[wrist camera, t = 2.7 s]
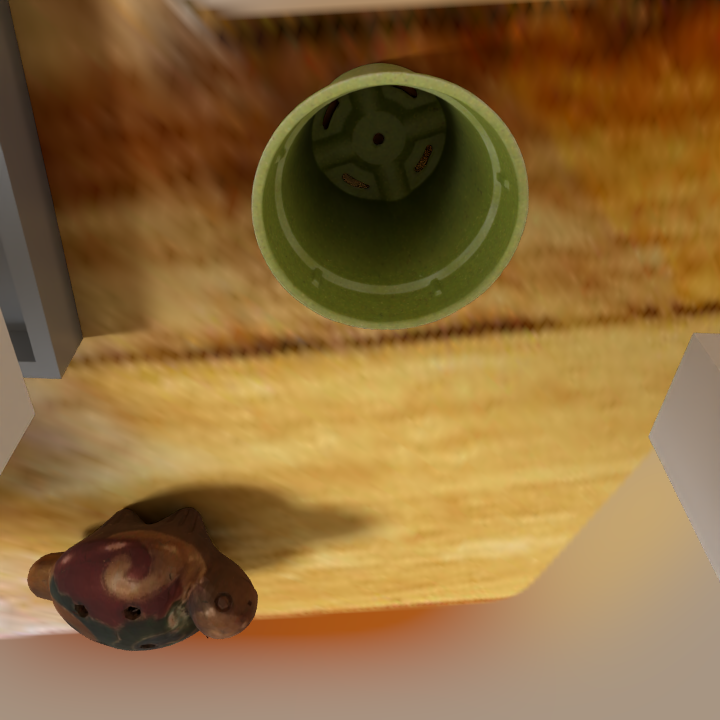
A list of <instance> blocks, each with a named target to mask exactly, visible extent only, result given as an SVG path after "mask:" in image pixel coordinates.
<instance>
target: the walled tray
mask: <svg viewBox="0 0 720 720" xmlns="http://www.w3.org/2000/svg"><path fill="white" fill-rule="evenodd" d="M0 309H1V312H2V315H3V318H4V321H5V324H6V327H7V330H8V333H9V336H10V339H11V342H12V345H13V348H14V351H15V354H16V357H17V360H18V363H19V366H20V369H21V372H22V375H23V377H24V378H49V379H61V378H62V376H63V374H64V373H65V371H66V369H67V367H68V365H69V363H70V361H71V360H72V358H73V356H74V354H75V352H76V350H77V348H78V346H79V345H80V343H81V341H82V339H83V337H82V332H81V328H80V323H79V319H78V314H77V310H76V305H75V301H74V296H73V292H72V287H71V283H70V278H69V273H68V269H67V264H66V260H65V255H64V251H63V246H62V242H61V237H60V233H59V228H58V224H57V219H56V215H55V210H54V206H53V201H52V197H51V192H50V188H49V183H48V179H47V174H46V170H45V165H44V161H43V156H42V152H41V147H40V143H39V138H38V134H37V129H36V125H35V120H34V116H33V111H32V107H31V102H30V98H29V93H28V89H27V84H26V80H25V75H24V71H23V66H22V62H21V57H20V53H19V48H18V44H17V39H16V35H15V30H14V26H13V21H12V17H11V12H10V7H9V3H8V0H0Z"/></svg>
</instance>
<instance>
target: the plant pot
mask: <svg viewBox="0 0 720 720" xmlns="http://www.w3.org/2000/svg"><path fill="white" fill-rule="evenodd" d="M390 85H401V86H408V87H413V88H414V89H415V90H416V91H417V97H415V98H413V97H411V96H410V95H409V94H407V93H406V92H405V91H403V90H401V89H399V88H397V87H392V86H390ZM334 100H337V101H339V105H338V106H337V108H336V110H335V112H334V113H333V115H332V118H331V120H330V123H329V126H328V128H327V129H324V127H323V125H322V122H323V118H324V115H325V113H326V110H327V108H328V106H329V105H330V102H333V101H334ZM377 133H380V134H382V135H383V136H384V141H383V143H382V144H379V145H377V144H375V143H374V142H373V137H374V135H376V134H377ZM427 145H431V147H432V149H433V150H432V152H431V154H430V156H429V158H428V161H427V164H426V166H425V167H424V168H423V169H422V170H421V171H420V172H415V170H414V168H415V166H416V165H417V164H418V162H419V160H420V159H421V158H422V155H423V154H424V152H425V150H426V146H427ZM344 173H347V174H349V175H350V176H351V177H353V178H355V179H356V180H358V181H360V182H363V183H364V184H365V185H367V184H368V185H369V188H368V187H367V188H358V187H354V186H352V185H350V184H348V183H347V182H345V181H344V179H343V178H342V176H343V174H344ZM528 195H529V190H528V179H527V173H526V167H525V162H524V160H523V157H522V154H521V151H520V149H519V147H518V144H517V142H516V140H515V138H514V136H513V135H512V134H511V132H510V130H509V128H508V127H507V126H506V124H505V123H504V122H503V121H502V119H501V118H500V117H499V116H498V115H497V114H496V113H495V112H494V111H493V110H492V109H491V108H490V107H489V106H488V105H487V104H486V103H484V102H483V101H482V100H481V99H479V98H478V97H477V96H475V95H474V94H473V93H471V92H469V91H468V90H466V89H464V88H462V87H460V86H459V85H457V84H454V83H452V82H449V81H446V80H444V79H441V78H437V77H434V76H430V75H426V74H420V73H415V72H413V71H411V70H409V69H406V68H404V67H401V66H398V65H393V64H387V63H374V64H368V65H364V66H360V67H357V68H355V69H352V70H350V71H348V72H346V73H344V74H342V75H341V76H339V77H338V78H336V79H335V80H334V81H333V82H332V83H331V84H330V85H328V86H326V87H325V88H323V89H321V90H319V91H317V92H316V93H314V94H313V95H311V96H310V97H308V98H307V99H305V100H304V101H303V102H302V103H300V104H299V105H298V106H297V107H296V108H295V109H294V110H293V111H292V112H291V113H290V114H289V115H288V116H287V117H286V118H285V119H284V120H283V121H282V122H281V123H280V125H279V126H278V128H277V129H276V130H275V132H274V133H273V135H272V137H271V138H270V140H269V142H268V144H267V145H266V147H265V149H264V151H263V154H262V156H261V159H260V161H259V164H258V167H257V171H256V174H255V178H254V183H253V190H252V220H253V226H254V232H255V236H256V240H257V243H258V245H259V248H260V251H261V253H262V255H263V257H264V259H265V261H266V263H267V265H268V267H269V268H270V270H271V272H272V273H273V275H274V276H275V278H276V279H277V280H278V282H279V283H280V284H281V285H282V286H283V287H284V289H285V290H286V291H288V292H289V293H290V294H291V295H292V296H293V297H294V298H295V299H296V300H298V301H299V302H300V303H302V304H303V305H305V306H306V307H308V308H309V309H311V310H312V311H314V312H316V313H317V314H319V315H321V316H323V317H325V318H328V319H330V320H333V321H336V322H339V323H343V324H346V325H349V326H353V327H358V328H364V329H380V330H387V329H389V330H395V329H406V328H411V327H417V326H421V325H425V324H428V323H431V322H435V321H438V320H440V319H442V318H444V317H446V316H449V315H450V314H452V313H454V312H456V311H458V310H459V309H461V308H463V307H464V306H466V305H467V304H469V303H471V302H472V301H473V300H475V299H476V298H478V297H479V296H480V295H481V294H483V293H484V292H485V291H486V290H487V289H488V288H489V287H490V286H491V285H492V284H493V283H494V282H495V281H496V279H497V278H498V277H499V276H500V274H501V273H502V271H503V270H504V268H505V267H506V266H507V265H508V263H509V262H510V260H511V258H512V256H513V254H514V252H515V251H516V248H517V246H518V244H519V241H520V238H521V236H522V233H523V230H524V227H525V223H526V219H527V214H528Z"/></svg>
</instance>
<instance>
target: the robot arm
mask: <svg viewBox="0 0 720 720" xmlns="http://www.w3.org/2000/svg"><path fill="white" fill-rule="evenodd" d="M34 416H35V412H34V409H33V406H32V403H31V400H30V397H29V394H28V391H27V388H26V385H25V382H24V378H23V375H22V372H21V369H20V366H19V363H18V360H17V357H16V354H15V351H14V348H13V345H12V342H11V339H10V336H9V333H8V330H7V327H6V324H5V321H4V318H3V315H2V312H1V309H0V475H1V473H2V471H3V470H4V468H5V466H6V464H7V463H8V461H9V459H10V457H11V456H12V454H13V452H14V450H15V449H16V447H17V445H18V443H19V442H20V440H21V438H22V436H23V435H24V433H25V431H26V429H27V428H28V426H29V424H30V423H31V421H32V419H33V417H34ZM648 437H649V439H650V441H651V443H652V445H653V447H654V449H655V451H656V453H657V455H658V457H659V459H660V461H661V463H662V465H663V467H664V469H665V471H666V473H667V476H668V478H669V480H670V482H671V484H672V486H673V488H674V490H675V492H676V494H677V496H678V498H679V500H680V502H681V504H682V506H683V508H684V510H685V512H686V514H687V516H688V518H689V520H690V522H691V524H692V526H693V528H694V530H695V533H696V534H697V537H698V539H699V541H700V543H701V545H702V546H703V549H704V551H705V553H706V555H707V557H708V559H709V561H710V563H711V565H712V567H713V569H714V571H715V573H716V575H717V577H718V579H719V581H720V334H710V333H693V335H692V337H691V339H690V342H689V344H688V346H687V349H686V351H685V353H684V355H683V358H682V360H681V362H680V365H679V367H678V369H677V372H676V374H675V376H674V379H673V381H672V383H671V386H670V388H669V390H668V392H667V395H666V397H665V399H664V402H663V404H662V406H661V409H660V411H659V413H658V416H657V418H656V420H655V422H654V425H653V427H652V429H651V432H650V434H649V436H648Z"/></svg>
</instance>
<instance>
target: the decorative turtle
mask: <svg viewBox="0 0 720 720" xmlns="http://www.w3.org/2000/svg"><path fill="white" fill-rule="evenodd" d="M27 581H28V586H29V588H30V590H31V591H32V592H33V593H34V594H35V595H36V596H37V597H40V598H43V599H47V600H51V601H53V604H54V606H55V608H56V610H57V611H58V613H59V614H60V615H61V616H62V618H63V619H64V620H65V621H66V622H67V623H68V624H69V625H70V626H71V627H72V628H74V629H75V630H76V631H78V632H79V633H80V634H82V635H84V636H85V637H87V638H89V639H90V640H93V641H96V642H98V643H101V644H104V645H107V646H110V647H114V648H117V649H122V650H129V651H130V650H131V651H139V650H151V649H157V648H163V647H166V646H170V645H173V644H175V643H178V642H180V641H183V640H184V639H186V638H188V637H190V636H192V635H193V634H195V633H196V632H198V631H201V632H202V633H203V634H204V635H206V636H209V637H211V638H215V639H224V638H230V637H232V636H234V635H237V634H239V633H240V632H242V631H243V630H244V629H245V628H246V627H247V626H248V625H249V624H250V622H251V621H252V619H253V618H254V616H255V613H256V609H257V601H258V595H257V592H256V590H255V589H254V587H253V585H252V583H251V581H250V579H249V578H248V576H247V575H246V574H245V573H244V571H243V570H242V569H241V568H240V567H239V566H238V565H237V564H236V563H234V562H233V561H232V560H230V559H229V558H227V557H226V556H224V555H223V554H222V553H220V552H219V551H218V550H217V549H216V548H215V547H214V545H213V544H212V542H211V540H210V538H209V536H208V534H207V531H206V529H205V526H204V523H203V521H202V517H201V515H200V514H199V513H198V512H197V511H196V510H195V509H193V508H184V509H180V510H178V511H176V512H175V513H173V514H171V515H170V516H168V517H166V518H164V519H163V520H161V521H159V522H157V523H154V524H145V523H144V522H143V521H142V520H141V519H140V518H139V517H138V515H137V514H135V513H134V512H133V511H131V510H129V509H123V510H121V511H118V512H117V513H116V514H115V515H113V516H112V517H111V518H110V519H109V520H108V521H106V522H105V523H104V524H103V525H102V526H101V527H100V528H99V529H98V530H97V531H95V532H94V533H93V534H91V535H89V536H88V537H86V538H85V539H83V540H82V541H80V542H79V543H77V544H75V545H74V546H72V547H71V548H69V549H68V550H67V551H66V552H58V553H50V554H47V555H45V556H43V557H41V558H40V559H39V560H37V561H36V562H35V563H34V564H33V565H32V567H31V568H30V571H29V574H28V579H27ZM207 638H208V637H207Z"/></svg>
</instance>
